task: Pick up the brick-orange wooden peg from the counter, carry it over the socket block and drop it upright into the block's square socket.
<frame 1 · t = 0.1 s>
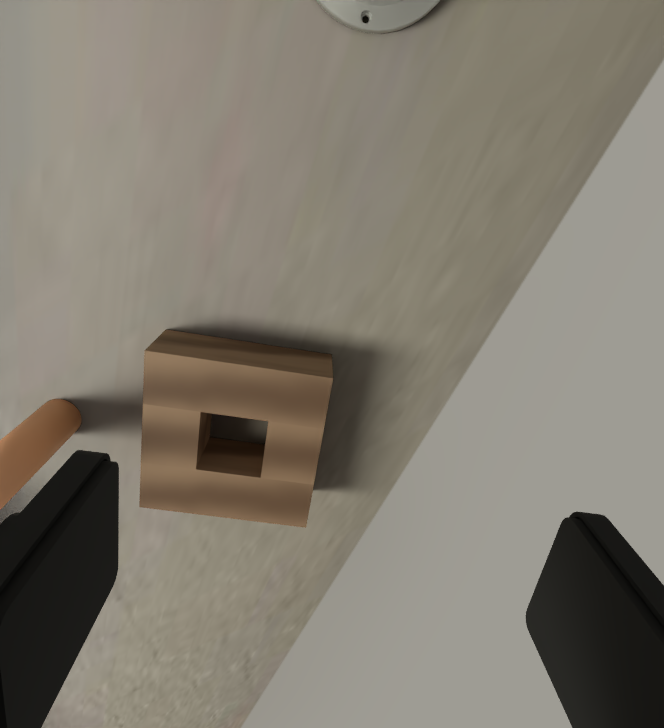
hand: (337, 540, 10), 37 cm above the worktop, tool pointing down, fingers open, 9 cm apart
socket block: (241, 415, 50), on the worktop
peg: (61, 416, 50), on the worktop
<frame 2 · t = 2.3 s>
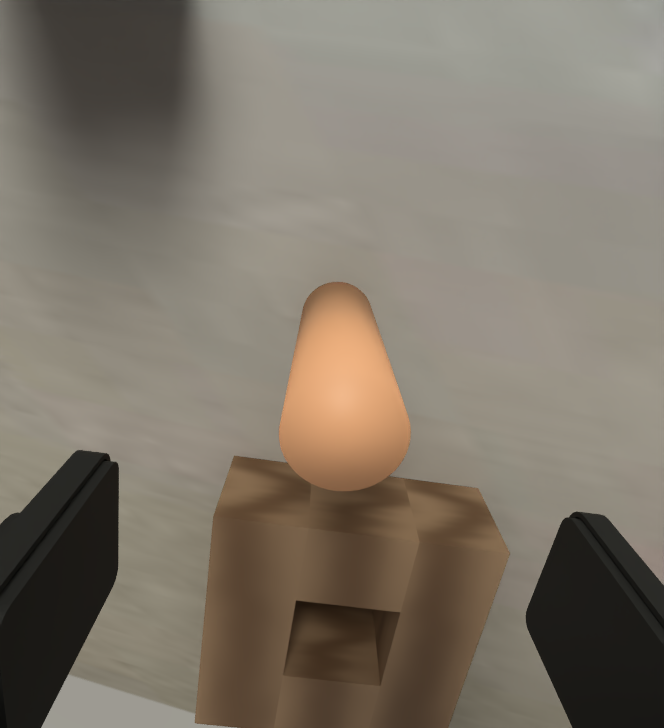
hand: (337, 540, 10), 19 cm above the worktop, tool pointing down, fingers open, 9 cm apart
socket block: (338, 569, 34), on the worktop
peg: (337, 316, 28), on the worktop
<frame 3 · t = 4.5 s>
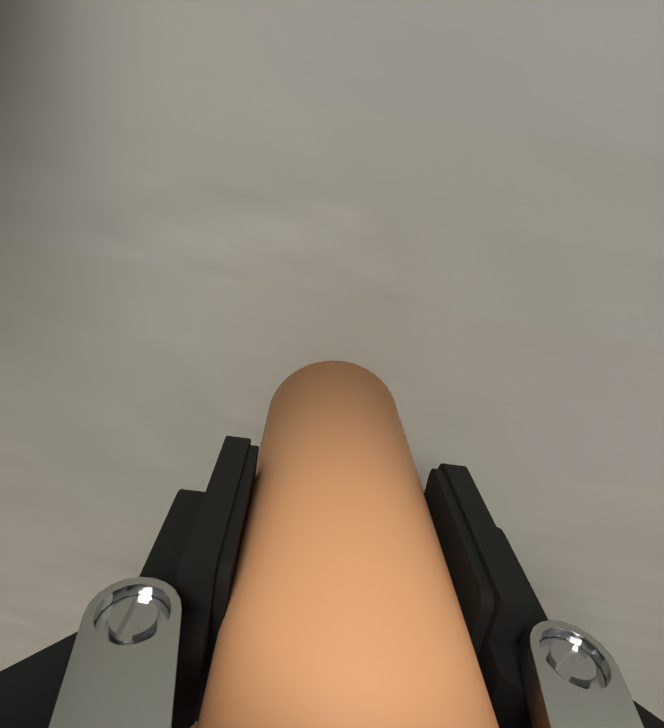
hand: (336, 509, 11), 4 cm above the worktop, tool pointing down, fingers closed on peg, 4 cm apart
peg: (332, 421, 15), on the worktop, touching gripper
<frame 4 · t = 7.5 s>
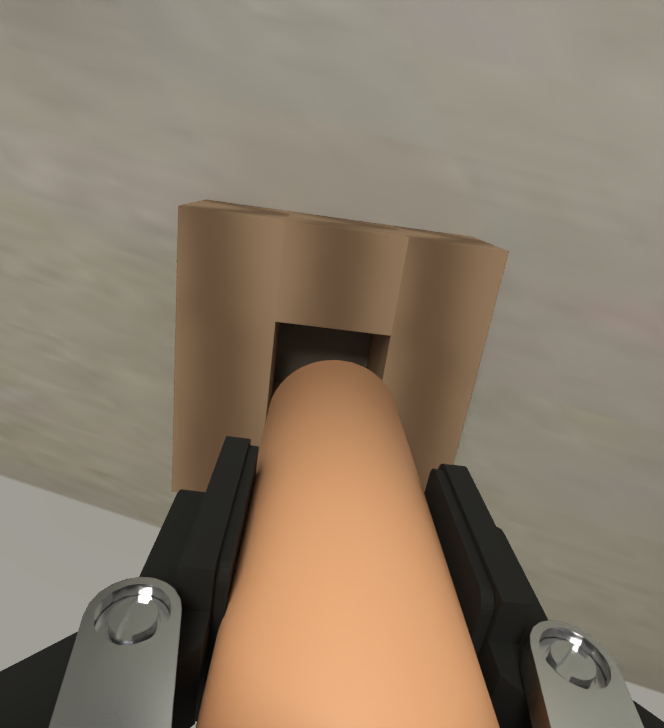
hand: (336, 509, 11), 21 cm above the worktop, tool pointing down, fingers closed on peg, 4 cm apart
socket block: (324, 345, 32), on the worktop
peg: (332, 420, 15), point 17 cm above the worktop, touching gripper
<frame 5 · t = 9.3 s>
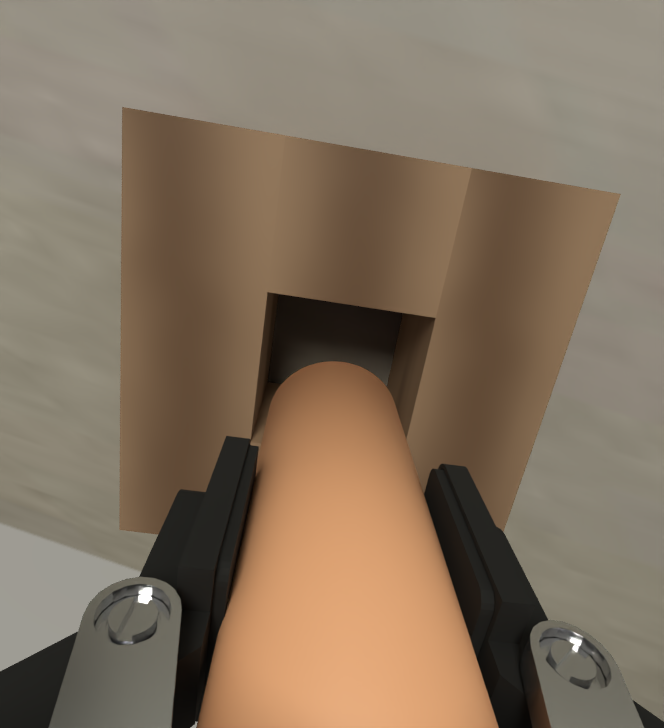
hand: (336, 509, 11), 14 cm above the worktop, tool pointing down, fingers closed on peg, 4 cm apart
socket block: (336, 334, 24), on the worktop
peg: (332, 421, 15), point 9 cm above the worktop, touching gripper
when the fingers open (8 cm above the worktop, at t = 10.6 s): peg drops 4 cm, resting in socket block.
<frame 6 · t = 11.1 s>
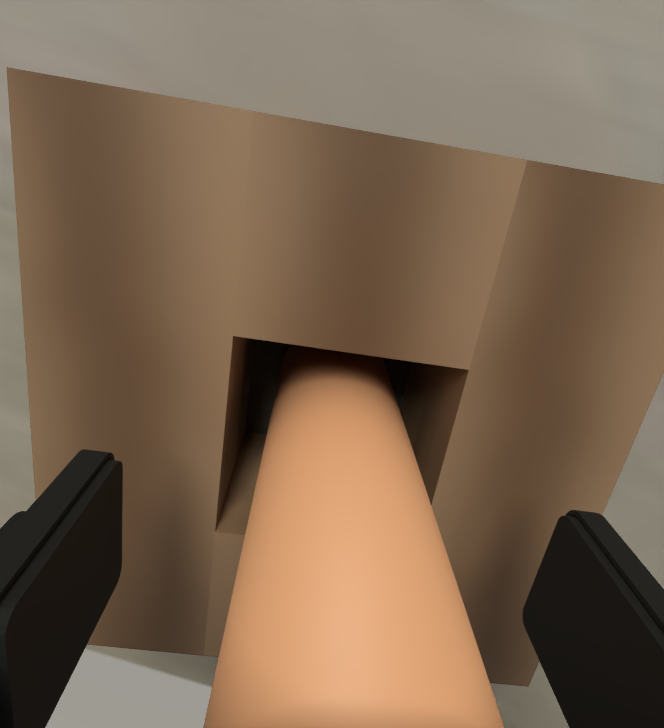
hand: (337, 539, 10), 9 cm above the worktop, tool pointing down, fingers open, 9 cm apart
socket block: (330, 373, 19), on the worktop
peg: (333, 373, 19), resting in socket block
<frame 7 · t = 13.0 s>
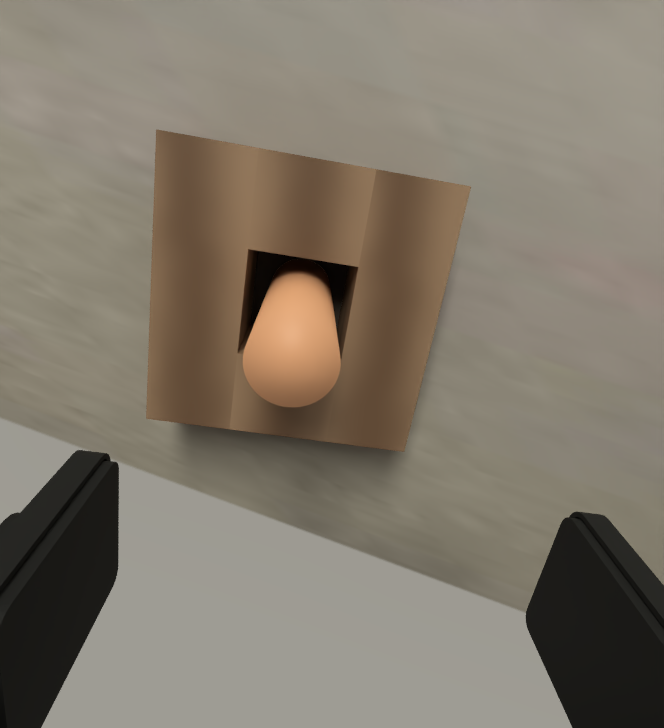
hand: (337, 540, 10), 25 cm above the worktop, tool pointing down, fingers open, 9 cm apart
socket block: (299, 288, 33), on the worktop
peg: (300, 288, 33), resting in socket block
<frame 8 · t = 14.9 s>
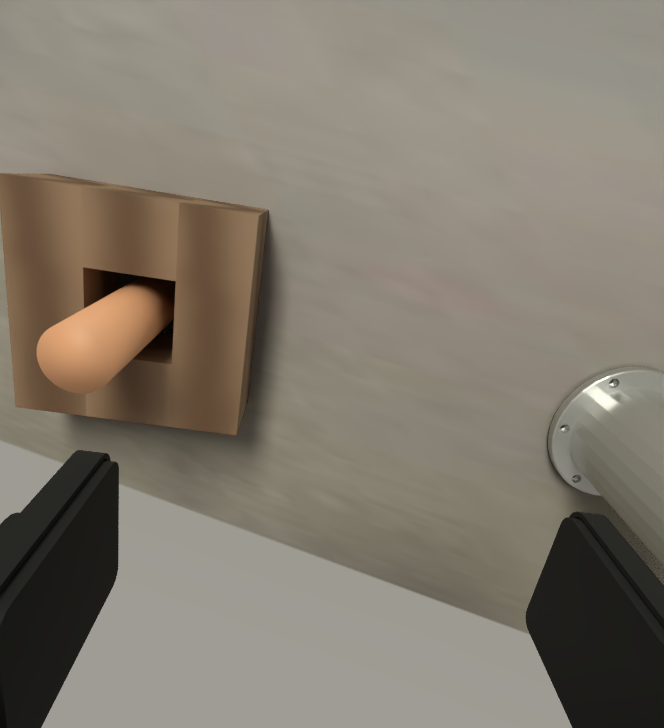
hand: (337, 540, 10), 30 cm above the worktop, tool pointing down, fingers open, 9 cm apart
socket block: (156, 297, 39), on the worktop
peg: (158, 297, 39), resting in socket block
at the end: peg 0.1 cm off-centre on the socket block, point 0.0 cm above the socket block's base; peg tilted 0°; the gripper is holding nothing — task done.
